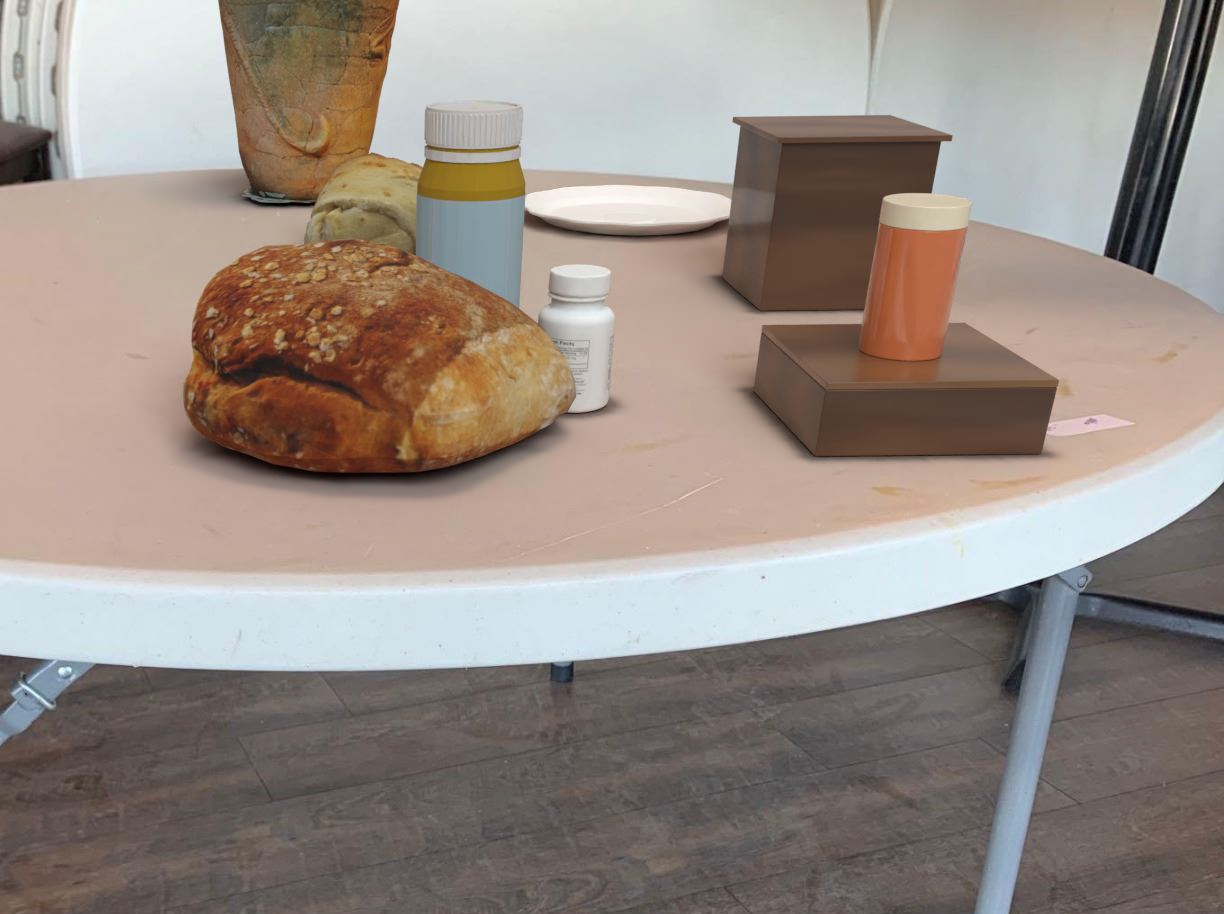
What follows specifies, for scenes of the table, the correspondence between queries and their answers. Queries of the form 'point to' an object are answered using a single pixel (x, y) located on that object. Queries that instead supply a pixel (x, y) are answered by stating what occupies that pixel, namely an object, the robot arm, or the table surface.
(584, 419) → the table surface
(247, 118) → the vase
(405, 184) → the pastry
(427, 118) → the bottle
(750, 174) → the wooden cabinet block
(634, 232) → the plate
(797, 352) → the wooden lidded box
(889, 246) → the spice jar
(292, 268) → the bread
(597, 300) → the pill bottle
